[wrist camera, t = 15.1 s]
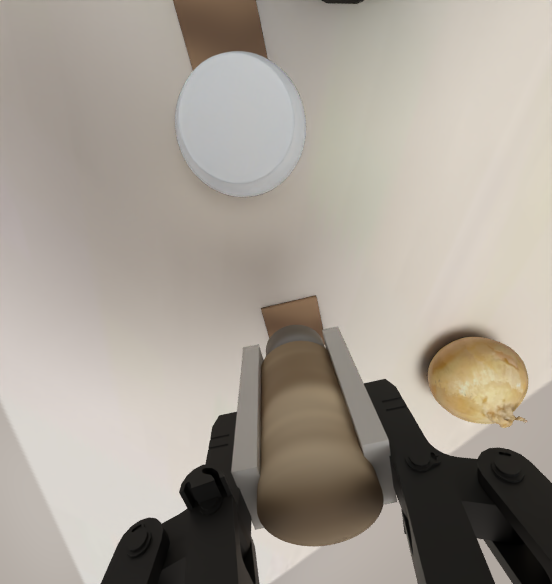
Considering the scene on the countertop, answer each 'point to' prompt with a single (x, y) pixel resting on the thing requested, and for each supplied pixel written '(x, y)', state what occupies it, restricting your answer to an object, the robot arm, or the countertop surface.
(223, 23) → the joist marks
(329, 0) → the advertising column
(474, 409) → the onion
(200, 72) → the pill bottle
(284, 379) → the tan wooden cylinder
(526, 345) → the countertop surface
